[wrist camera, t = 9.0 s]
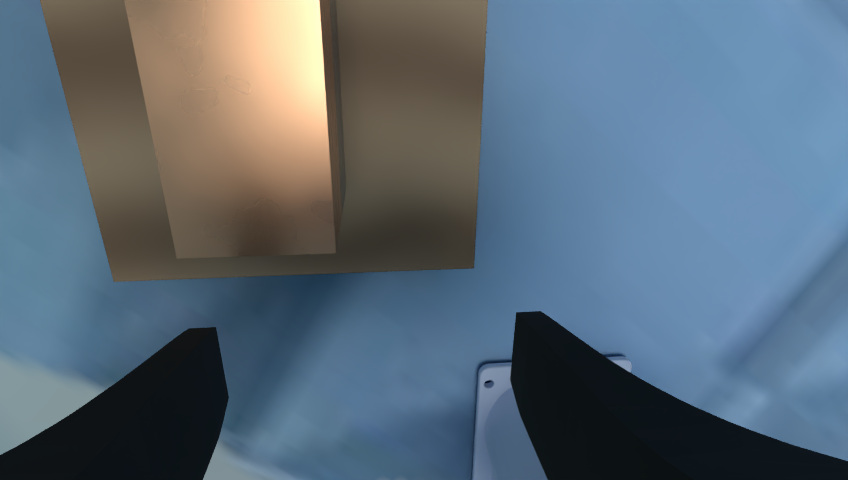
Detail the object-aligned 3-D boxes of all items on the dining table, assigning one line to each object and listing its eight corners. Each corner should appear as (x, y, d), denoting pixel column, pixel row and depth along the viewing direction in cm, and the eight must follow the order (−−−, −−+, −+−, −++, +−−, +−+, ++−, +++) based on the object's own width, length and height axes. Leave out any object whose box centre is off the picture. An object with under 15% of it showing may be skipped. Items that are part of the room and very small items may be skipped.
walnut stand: (463, 244, 23) (474, 268, 20) (141, 254, 21) (113, 281, 19) (480, -162, 17) (497, -193, 15) (39, -183, 16) (-18, -220, 13)
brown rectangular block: (346, 187, 18) (336, 253, 13) (235, 189, 18) (176, 258, 13) (332, -61, 15) (311, -113, 10) (199, -65, 15) (99, -121, 9)
